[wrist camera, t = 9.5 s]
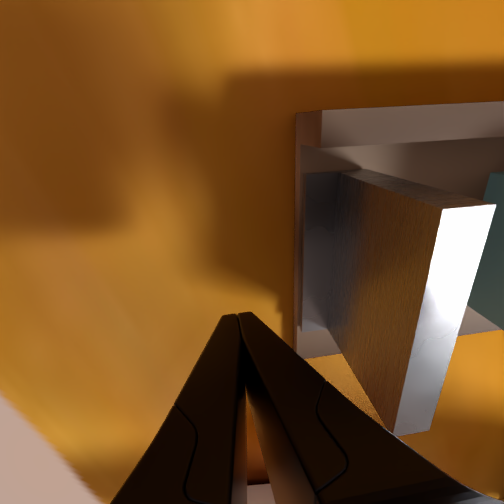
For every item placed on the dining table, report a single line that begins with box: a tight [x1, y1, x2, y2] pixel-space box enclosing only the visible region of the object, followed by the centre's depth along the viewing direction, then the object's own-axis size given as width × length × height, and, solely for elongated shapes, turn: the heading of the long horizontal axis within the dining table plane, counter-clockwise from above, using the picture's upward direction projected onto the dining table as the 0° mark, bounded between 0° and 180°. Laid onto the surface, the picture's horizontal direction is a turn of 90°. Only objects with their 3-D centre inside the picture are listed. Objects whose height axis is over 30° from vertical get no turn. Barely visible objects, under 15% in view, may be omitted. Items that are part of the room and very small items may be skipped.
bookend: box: [300, 169, 496, 437], centre depth 10 cm, size 7×2×5 cm, turn 3°
